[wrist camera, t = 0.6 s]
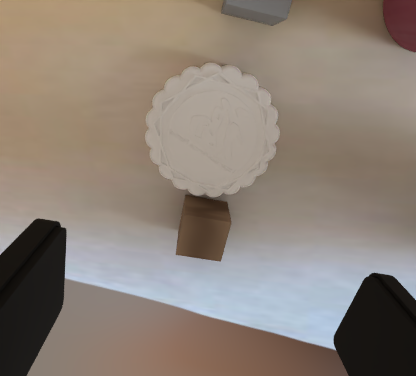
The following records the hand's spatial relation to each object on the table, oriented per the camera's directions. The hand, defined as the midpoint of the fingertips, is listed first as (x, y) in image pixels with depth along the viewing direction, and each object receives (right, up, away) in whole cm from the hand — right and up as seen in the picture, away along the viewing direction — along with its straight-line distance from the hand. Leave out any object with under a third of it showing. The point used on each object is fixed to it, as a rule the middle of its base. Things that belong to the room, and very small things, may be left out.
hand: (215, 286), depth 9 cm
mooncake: (0, +9, +20) cm, 22 cm away
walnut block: (-1, 0, +23) cm, 23 cm away
